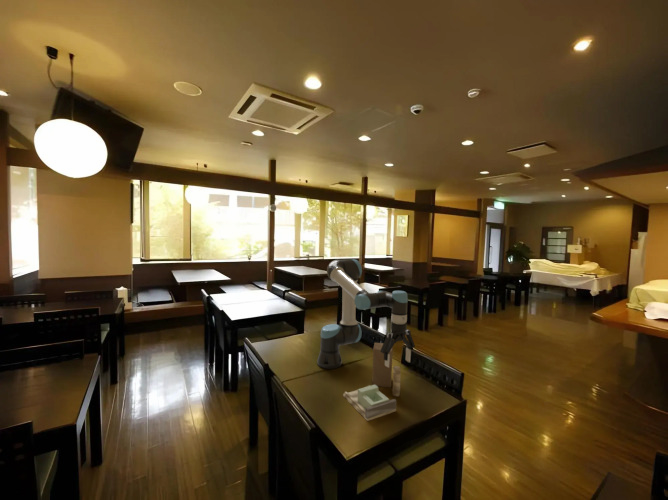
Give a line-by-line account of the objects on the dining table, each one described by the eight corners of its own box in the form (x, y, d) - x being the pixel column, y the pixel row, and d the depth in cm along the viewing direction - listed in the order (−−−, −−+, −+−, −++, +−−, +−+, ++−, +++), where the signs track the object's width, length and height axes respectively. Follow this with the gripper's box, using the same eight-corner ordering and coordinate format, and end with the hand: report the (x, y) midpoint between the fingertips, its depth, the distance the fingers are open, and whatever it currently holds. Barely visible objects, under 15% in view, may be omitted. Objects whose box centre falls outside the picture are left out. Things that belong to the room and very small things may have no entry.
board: (343, 395, 140) (343, 386, 139) (369, 388, 147) (369, 379, 147) (367, 421, 121) (367, 409, 121) (395, 411, 129) (396, 400, 128)
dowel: (390, 393, 143) (392, 366, 142) (396, 391, 145) (397, 365, 144) (395, 397, 140) (396, 370, 139) (401, 395, 141) (402, 368, 141)
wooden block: (391, 388, 148) (392, 351, 147) (372, 385, 150) (373, 349, 149) (391, 378, 158) (392, 343, 157) (373, 376, 160) (374, 342, 159)
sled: (357, 401, 134) (357, 389, 133) (374, 396, 138) (374, 384, 138) (370, 414, 124) (371, 401, 123) (388, 408, 128) (389, 396, 128)
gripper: (383, 327, 131) (382, 372, 132) (422, 321, 143) (421, 362, 144) (374, 323, 138) (373, 365, 139) (412, 317, 149) (411, 356, 150)
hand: (397, 363), depth 141 cm, fingers open, 13 cm apart
